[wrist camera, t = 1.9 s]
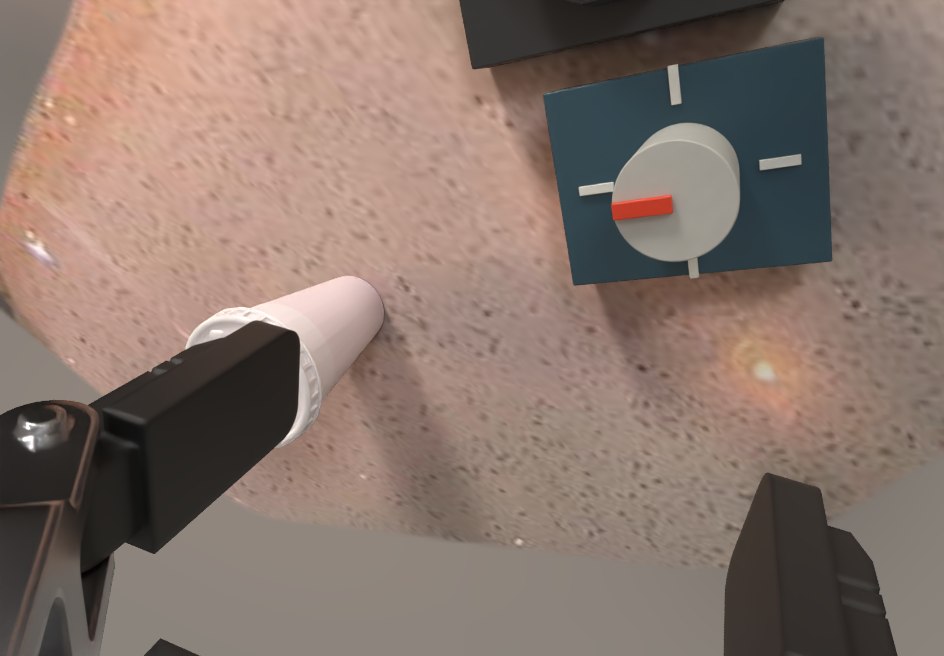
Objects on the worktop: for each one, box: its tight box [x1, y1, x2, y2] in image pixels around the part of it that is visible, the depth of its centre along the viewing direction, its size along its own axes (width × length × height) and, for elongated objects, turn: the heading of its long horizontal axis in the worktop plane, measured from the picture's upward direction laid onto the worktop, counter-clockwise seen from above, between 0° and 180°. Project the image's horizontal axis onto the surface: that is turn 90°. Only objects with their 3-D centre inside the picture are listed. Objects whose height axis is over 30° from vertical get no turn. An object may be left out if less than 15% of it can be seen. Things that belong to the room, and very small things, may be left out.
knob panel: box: [543, 37, 832, 285], centre depth 28 cm, size 10×8×3 cm
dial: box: [611, 123, 740, 262], centre depth 25 cm, size 4×4×5 cm
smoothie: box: [185, 276, 384, 449], centre depth 32 cm, size 6×6×14 cm
